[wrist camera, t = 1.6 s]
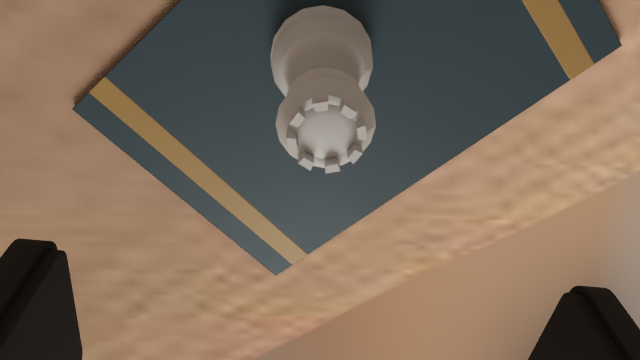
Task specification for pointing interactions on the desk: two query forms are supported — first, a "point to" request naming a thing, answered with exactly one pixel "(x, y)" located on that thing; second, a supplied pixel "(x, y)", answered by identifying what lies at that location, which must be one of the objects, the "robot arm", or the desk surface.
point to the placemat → (382, 91)
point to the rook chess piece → (323, 87)
